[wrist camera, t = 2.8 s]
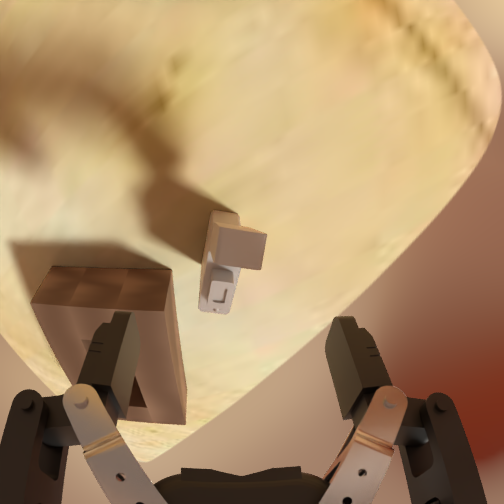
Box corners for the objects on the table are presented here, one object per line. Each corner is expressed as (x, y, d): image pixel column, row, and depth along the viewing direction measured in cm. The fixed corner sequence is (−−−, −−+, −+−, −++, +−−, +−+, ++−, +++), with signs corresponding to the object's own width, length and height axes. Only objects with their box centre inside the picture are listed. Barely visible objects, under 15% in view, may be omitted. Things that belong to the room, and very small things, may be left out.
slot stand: (99, 383, 28) (91, 415, 25) (52, 266, 20) (30, 302, 17) (187, 389, 29) (185, 424, 26) (171, 269, 21) (164, 311, 18)
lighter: (227, 269, 21) (231, 368, 15) (201, 265, 21) (195, 364, 14) (251, 168, 18) (270, 243, 11) (221, 162, 17) (220, 235, 11)
